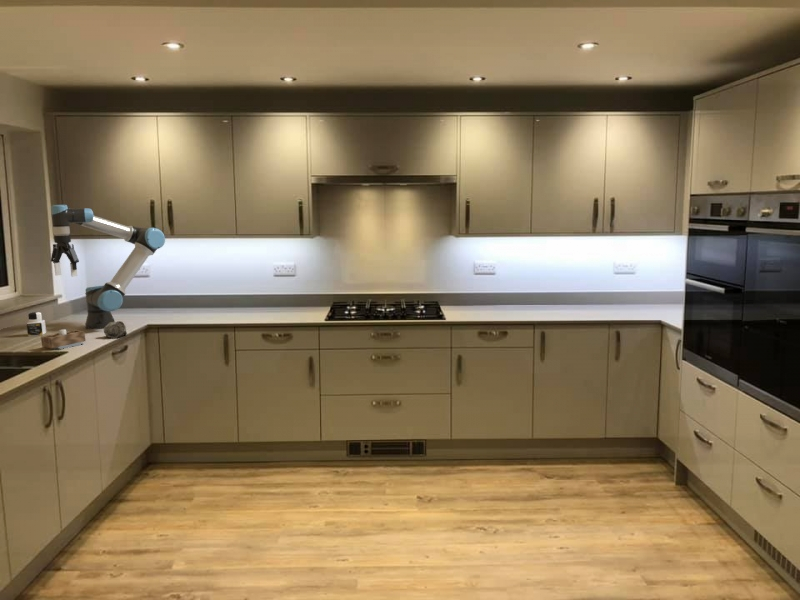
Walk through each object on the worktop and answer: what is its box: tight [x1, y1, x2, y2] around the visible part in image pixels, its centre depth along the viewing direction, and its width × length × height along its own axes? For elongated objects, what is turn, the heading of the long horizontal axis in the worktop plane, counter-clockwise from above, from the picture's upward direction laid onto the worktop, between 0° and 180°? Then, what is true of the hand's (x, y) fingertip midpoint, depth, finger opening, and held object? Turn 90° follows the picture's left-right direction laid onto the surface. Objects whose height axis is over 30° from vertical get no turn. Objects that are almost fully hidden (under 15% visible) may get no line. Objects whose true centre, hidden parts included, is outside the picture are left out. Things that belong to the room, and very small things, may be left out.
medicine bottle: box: [26, 311, 47, 337], centre depth 326 cm, size 7×7×12 cm
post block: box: [53, 329, 84, 350], centre depth 297 cm, size 12×12×8 cm
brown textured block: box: [40, 329, 86, 349], centre depth 297 cm, size 17×8×5 cm, turn 151°
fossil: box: [103, 321, 128, 340], centre depth 317 cm, size 11×9×10 cm
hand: (66, 275), depth 318 cm, fingers open, 13 cm apart
